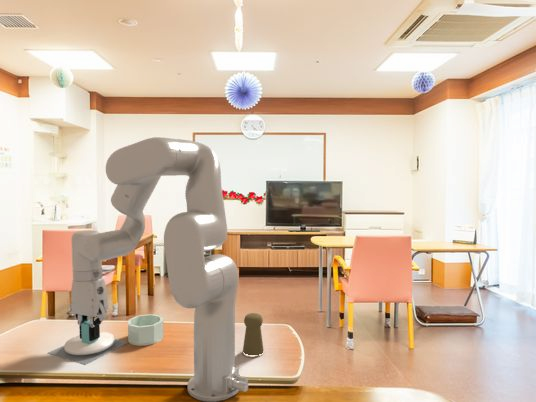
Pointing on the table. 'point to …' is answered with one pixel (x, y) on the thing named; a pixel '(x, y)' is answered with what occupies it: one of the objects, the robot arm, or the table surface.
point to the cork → (253, 334)
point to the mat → (89, 357)
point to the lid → (88, 342)
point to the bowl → (145, 329)
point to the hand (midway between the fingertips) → (89, 337)
